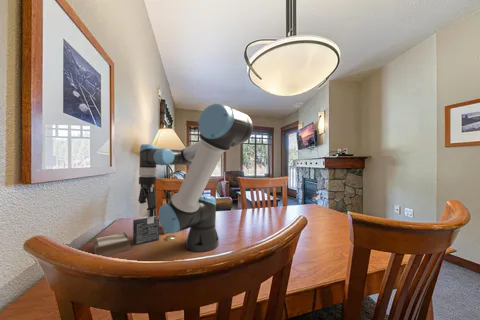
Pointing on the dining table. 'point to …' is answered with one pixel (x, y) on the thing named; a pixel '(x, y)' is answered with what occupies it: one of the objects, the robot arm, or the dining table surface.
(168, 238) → the brass disc
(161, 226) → the walnut block
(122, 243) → the plinth
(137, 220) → the small box
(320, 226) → the dining table surface
